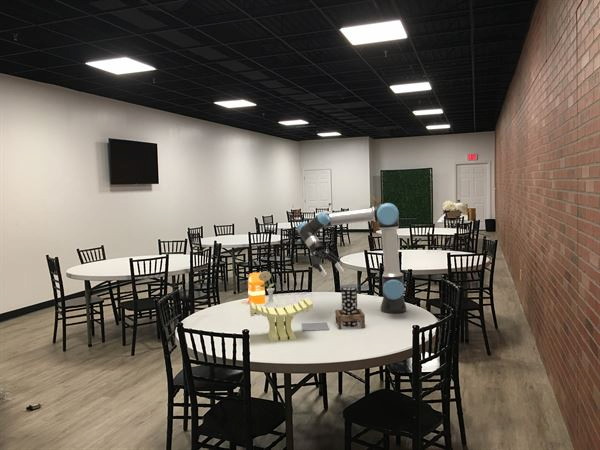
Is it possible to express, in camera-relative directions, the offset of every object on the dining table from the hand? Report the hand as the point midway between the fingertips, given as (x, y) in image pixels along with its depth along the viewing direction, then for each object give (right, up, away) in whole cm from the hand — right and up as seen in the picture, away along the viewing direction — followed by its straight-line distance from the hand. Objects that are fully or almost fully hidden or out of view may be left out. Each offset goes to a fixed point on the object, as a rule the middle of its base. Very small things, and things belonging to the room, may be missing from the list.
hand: (334, 274), depth 284 cm
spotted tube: (+8, -27, -6) cm, 29 cm away
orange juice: (-47, -24, +54) cm, 76 cm away
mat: (-11, -28, -8) cm, 31 cm away
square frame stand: (+8, -27, -6) cm, 29 cm away
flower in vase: (-37, -26, +30) cm, 55 cm away
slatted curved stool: (-28, -30, -22) cm, 46 cm away
